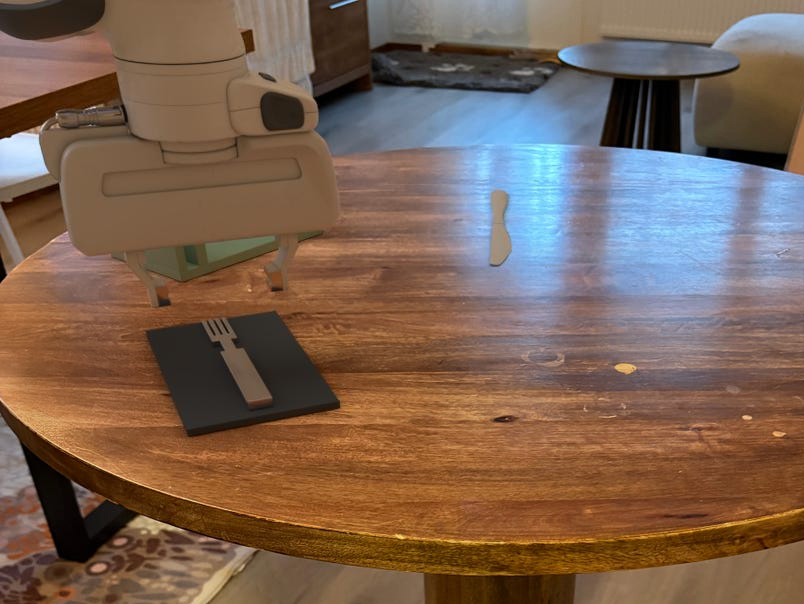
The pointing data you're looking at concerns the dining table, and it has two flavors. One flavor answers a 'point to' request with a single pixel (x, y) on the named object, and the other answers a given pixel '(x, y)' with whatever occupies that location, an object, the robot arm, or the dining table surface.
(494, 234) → the butter knife
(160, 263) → the dish rack
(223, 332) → the fork
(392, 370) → the dining table surface
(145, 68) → the robot arm
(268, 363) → the mat
